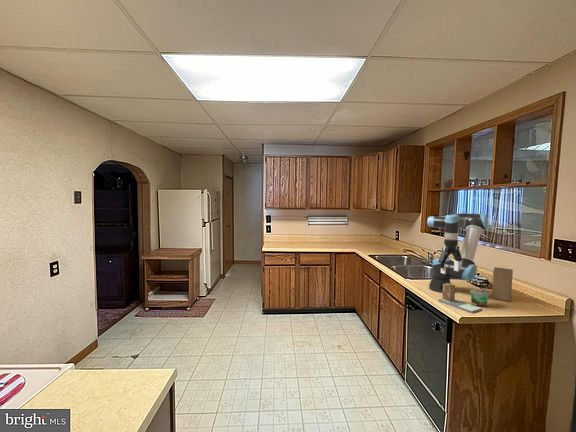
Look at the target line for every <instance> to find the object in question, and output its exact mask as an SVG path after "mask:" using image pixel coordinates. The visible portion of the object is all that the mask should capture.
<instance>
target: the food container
mask: <svg viewBox="0 0 576 432" xmlns="http://www.w3.org/2000/svg"><path fill="white" fill-rule="evenodd" d="M469 292H470V305H474V306H477V307H480V308H486V307H487V305H488V300H489V299H488V298H489V296H490V290H489V289H488V288H485V287H484V288H483V289H475V290H474V289H470V291H469Z"/></svg>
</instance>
